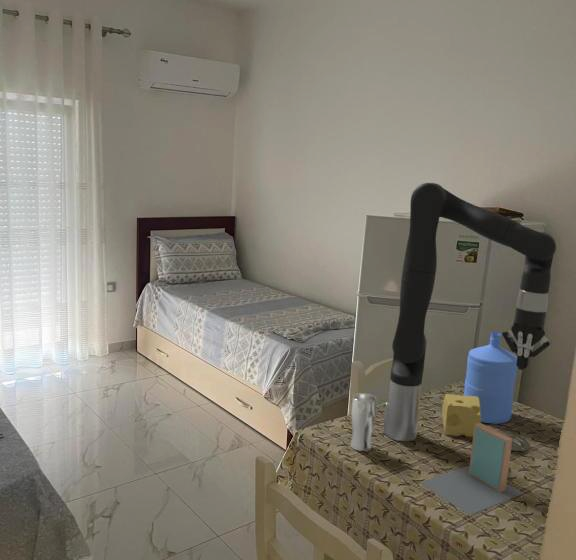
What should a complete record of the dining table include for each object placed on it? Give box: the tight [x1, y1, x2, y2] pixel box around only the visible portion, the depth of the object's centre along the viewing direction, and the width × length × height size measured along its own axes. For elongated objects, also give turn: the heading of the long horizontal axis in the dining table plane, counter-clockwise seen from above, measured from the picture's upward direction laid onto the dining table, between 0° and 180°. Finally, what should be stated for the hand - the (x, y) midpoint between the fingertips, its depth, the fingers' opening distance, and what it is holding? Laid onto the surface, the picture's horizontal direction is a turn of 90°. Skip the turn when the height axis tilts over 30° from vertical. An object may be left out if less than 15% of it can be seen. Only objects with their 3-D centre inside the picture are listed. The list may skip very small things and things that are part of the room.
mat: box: [419, 464, 524, 516], centre depth 144 cm, size 16×20×1 cm
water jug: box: [463, 332, 519, 425], centre depth 188 cm, size 16×16×28 cm
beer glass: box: [350, 392, 377, 452], centre depth 163 cm, size 7×7×15 cm
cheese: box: [441, 393, 482, 438], centre depth 177 cm, size 10×11×10 cm
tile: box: [469, 422, 513, 492], centre depth 146 cm, size 10×2×14 cm, turn 32°
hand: (521, 369), depth 156 cm, fingers closed
